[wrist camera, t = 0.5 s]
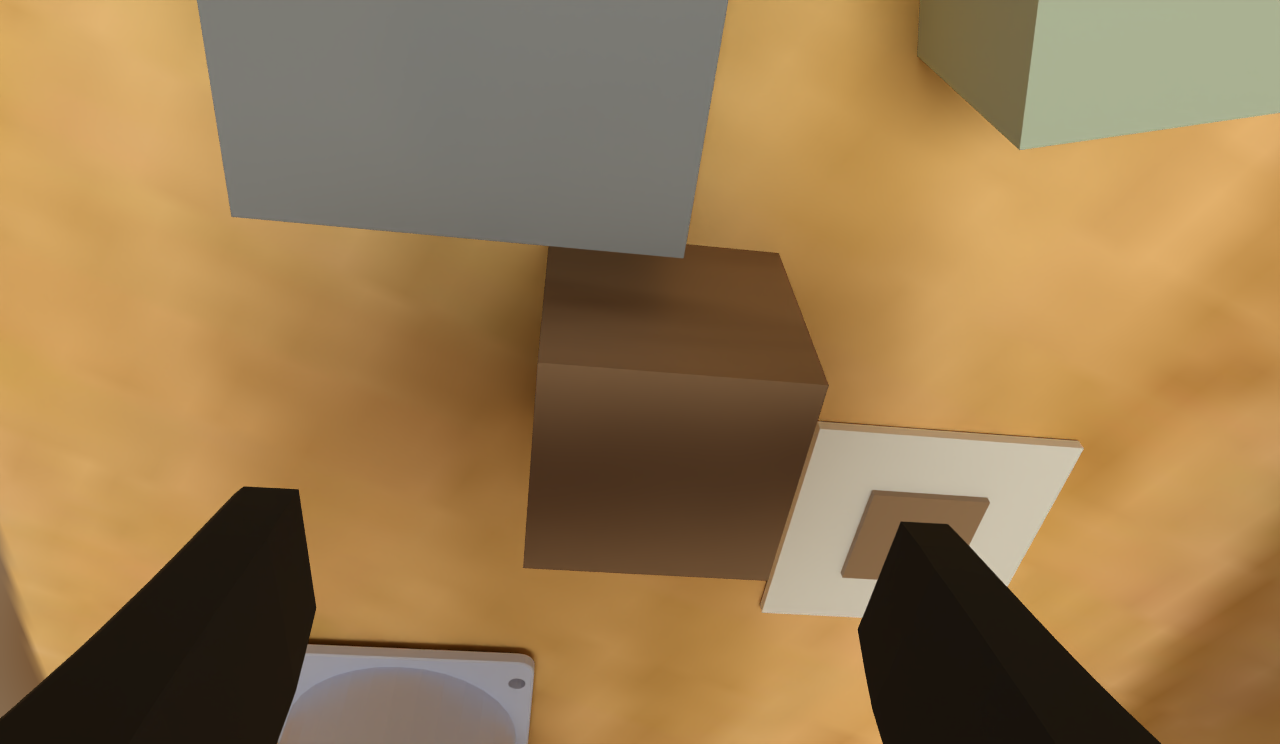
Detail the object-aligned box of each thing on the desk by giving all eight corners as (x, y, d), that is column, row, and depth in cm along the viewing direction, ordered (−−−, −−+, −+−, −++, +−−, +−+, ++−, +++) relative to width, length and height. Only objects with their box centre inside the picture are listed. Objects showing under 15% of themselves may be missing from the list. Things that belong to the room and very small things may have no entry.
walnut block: (735, 428, 22) (767, 581, 18) (536, 413, 21) (523, 568, 17) (777, 251, 19) (828, 385, 15) (550, 229, 18) (537, 362, 14)
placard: (983, 615, 26) (989, 629, 26) (760, 604, 26) (762, 618, 25) (1078, 440, 22) (1087, 453, 22) (817, 421, 22) (821, 434, 21)
